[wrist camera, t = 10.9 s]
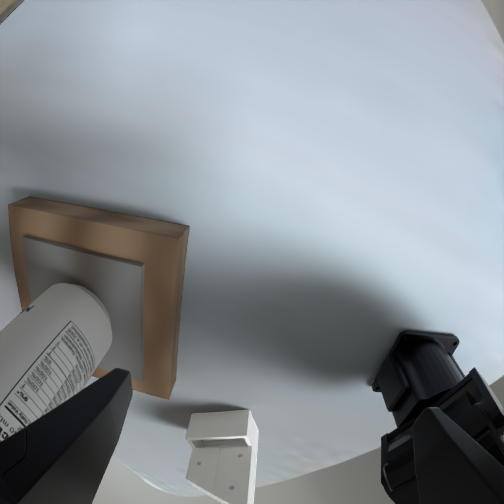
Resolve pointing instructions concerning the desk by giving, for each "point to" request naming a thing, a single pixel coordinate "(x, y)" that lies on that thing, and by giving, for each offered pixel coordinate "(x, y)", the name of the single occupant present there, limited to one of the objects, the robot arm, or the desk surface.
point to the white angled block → (223, 455)
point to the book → (8, 8)
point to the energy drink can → (50, 353)
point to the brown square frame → (109, 278)
